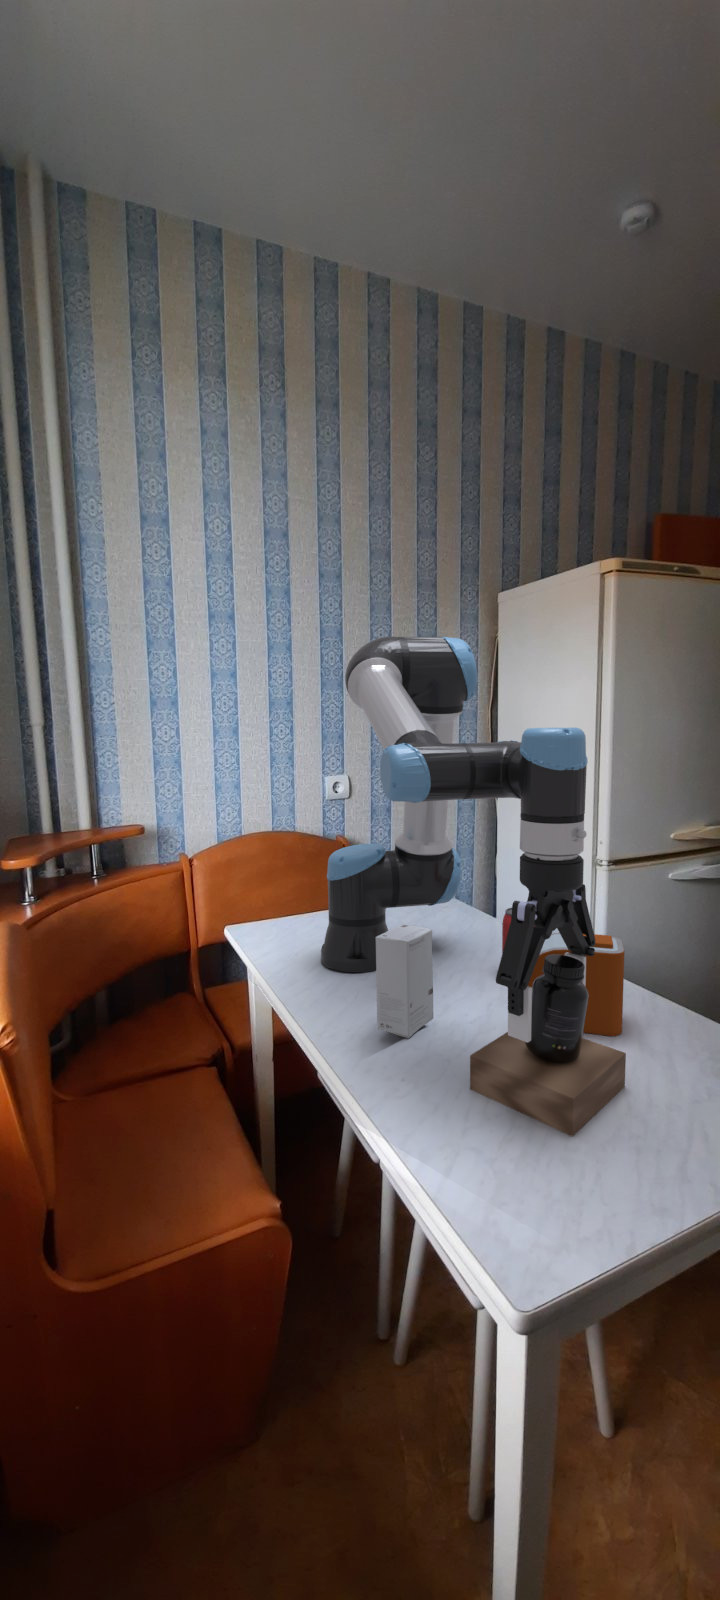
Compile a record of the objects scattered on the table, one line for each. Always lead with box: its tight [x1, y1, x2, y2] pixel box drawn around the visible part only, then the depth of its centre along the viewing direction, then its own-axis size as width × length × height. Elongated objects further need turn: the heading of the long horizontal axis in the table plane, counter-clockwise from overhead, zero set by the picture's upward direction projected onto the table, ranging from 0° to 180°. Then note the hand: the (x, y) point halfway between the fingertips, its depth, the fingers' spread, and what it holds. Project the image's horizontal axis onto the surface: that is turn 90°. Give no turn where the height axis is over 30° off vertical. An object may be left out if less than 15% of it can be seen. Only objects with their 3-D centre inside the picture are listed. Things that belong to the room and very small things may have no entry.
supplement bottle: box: [525, 954, 589, 1063], centre depth 81 cm, size 7×7×12 cm
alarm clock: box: [528, 932, 625, 1037], centre depth 101 cm, size 15×8×14 cm, turn 72°
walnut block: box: [469, 1031, 627, 1137], centre depth 82 cm, size 14×14×5 cm
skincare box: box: [375, 924, 434, 1039], centre depth 100 cm, size 8×6×15 cm
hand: (548, 1019), depth 82 cm, fingers open, 13 cm apart
